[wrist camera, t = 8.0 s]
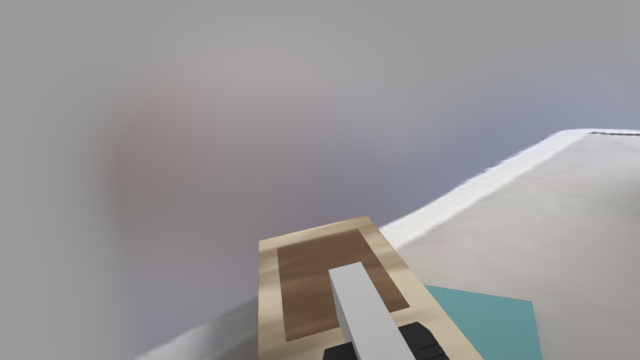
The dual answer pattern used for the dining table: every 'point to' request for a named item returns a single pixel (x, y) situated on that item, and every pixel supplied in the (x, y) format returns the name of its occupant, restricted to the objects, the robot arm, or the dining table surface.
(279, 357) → the light brown rectangular block
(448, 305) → the mat
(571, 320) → the dining table surface
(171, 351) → the dining table surface
